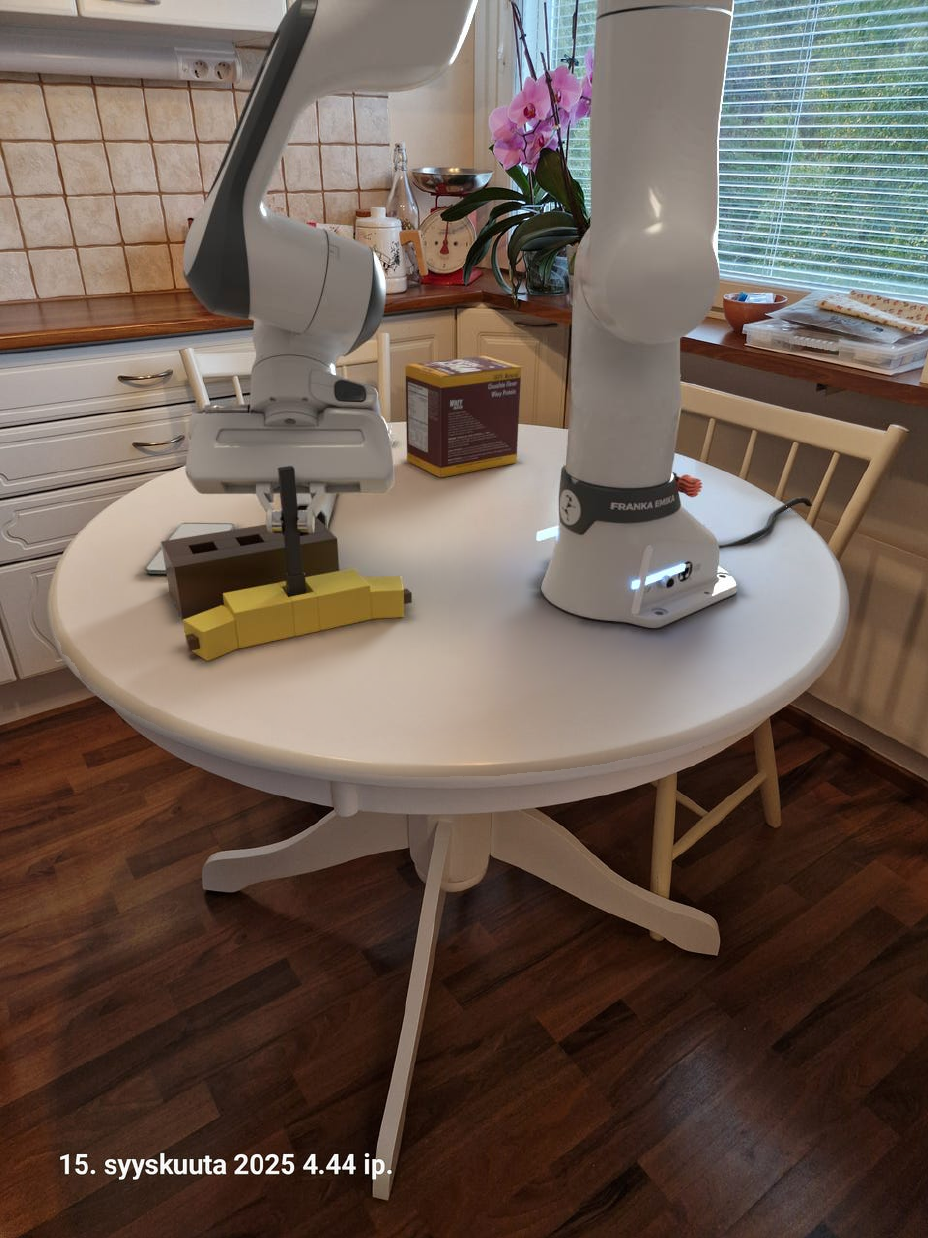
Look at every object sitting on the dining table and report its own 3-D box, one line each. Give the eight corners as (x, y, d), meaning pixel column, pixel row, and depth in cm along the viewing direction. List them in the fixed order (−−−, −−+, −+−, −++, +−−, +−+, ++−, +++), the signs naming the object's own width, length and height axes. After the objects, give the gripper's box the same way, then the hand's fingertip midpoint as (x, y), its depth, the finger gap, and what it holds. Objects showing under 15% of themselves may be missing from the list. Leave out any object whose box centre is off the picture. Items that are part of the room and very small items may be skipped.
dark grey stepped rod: (305, 613, 85) (293, 464, 78) (308, 617, 85) (296, 467, 77) (288, 617, 85) (275, 467, 77) (291, 621, 84) (278, 470, 76)
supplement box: (518, 462, 135) (523, 365, 127) (439, 478, 127) (440, 375, 120) (482, 447, 142) (484, 354, 135) (405, 461, 135) (404, 363, 127)
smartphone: (235, 523, 107) (204, 571, 94) (235, 527, 108) (205, 575, 94) (181, 522, 107) (143, 570, 94) (182, 526, 108) (144, 574, 94)
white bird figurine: (369, 433, 146) (377, 408, 144) (393, 443, 147) (402, 419, 145) (361, 446, 139) (370, 420, 137) (387, 456, 140) (396, 431, 138)
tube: (304, 453, 124) (278, 509, 102) (337, 442, 124) (318, 496, 102) (318, 485, 127) (295, 547, 105) (350, 474, 126) (334, 535, 104)
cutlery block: (169, 591, 91) (160, 541, 88) (318, 563, 98) (315, 516, 96) (182, 619, 85) (173, 566, 83) (340, 587, 93) (337, 538, 90)
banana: (181, 637, 82) (175, 602, 80) (393, 592, 92) (393, 560, 90) (193, 664, 77) (187, 627, 76) (415, 614, 87) (415, 580, 85)
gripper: (182, 387, 80) (172, 518, 76) (392, 388, 81) (393, 517, 77) (198, 421, 86) (189, 543, 82) (394, 421, 87) (395, 542, 83)
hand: (290, 530), depth 79 cm, fingers closed on dark grey stepped rod, 1 cm apart
